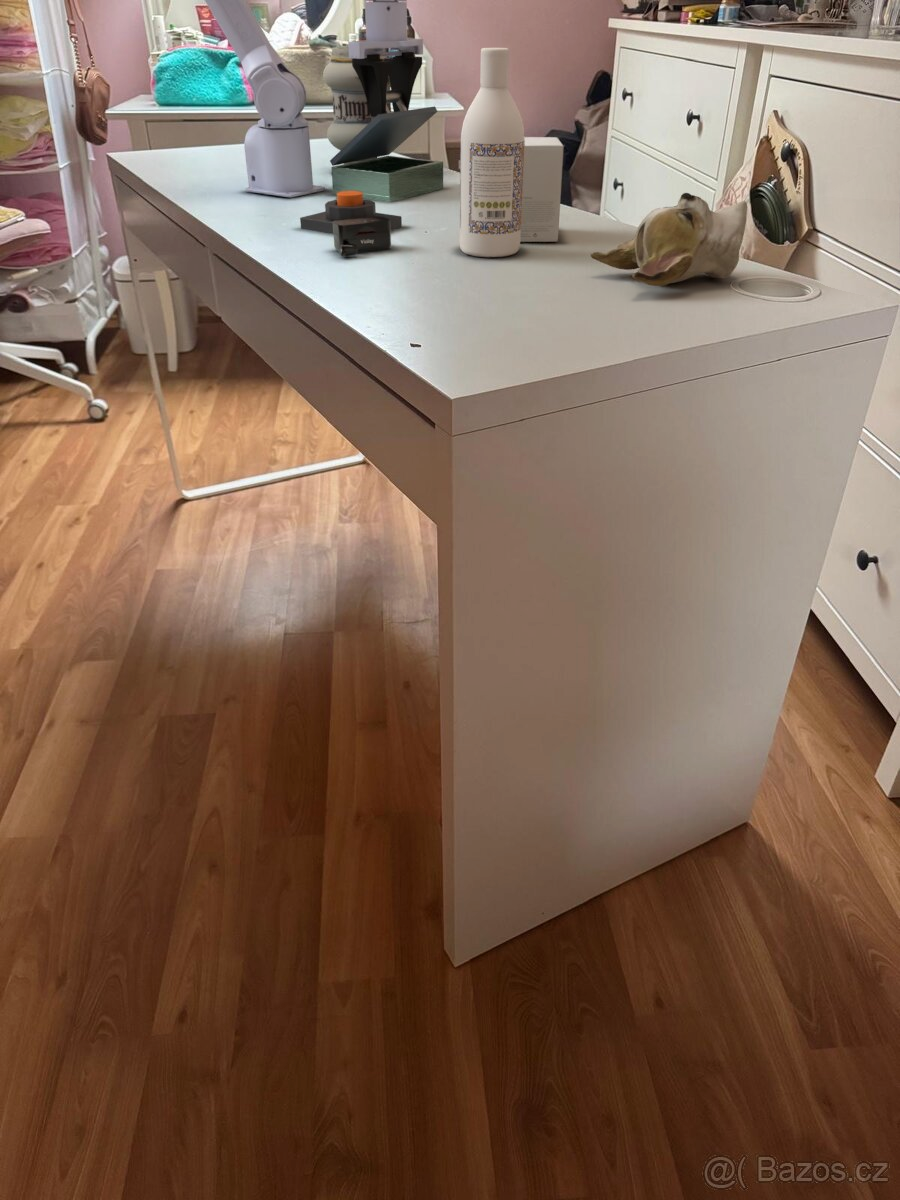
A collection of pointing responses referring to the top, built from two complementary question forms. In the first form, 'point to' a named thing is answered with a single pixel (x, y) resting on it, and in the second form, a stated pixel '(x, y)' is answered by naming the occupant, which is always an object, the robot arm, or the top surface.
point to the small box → (541, 189)
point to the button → (349, 198)
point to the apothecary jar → (347, 99)
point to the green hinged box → (388, 177)
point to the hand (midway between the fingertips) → (389, 115)
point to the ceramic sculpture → (682, 243)
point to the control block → (344, 216)
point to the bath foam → (491, 164)
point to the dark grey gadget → (361, 235)
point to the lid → (384, 131)
